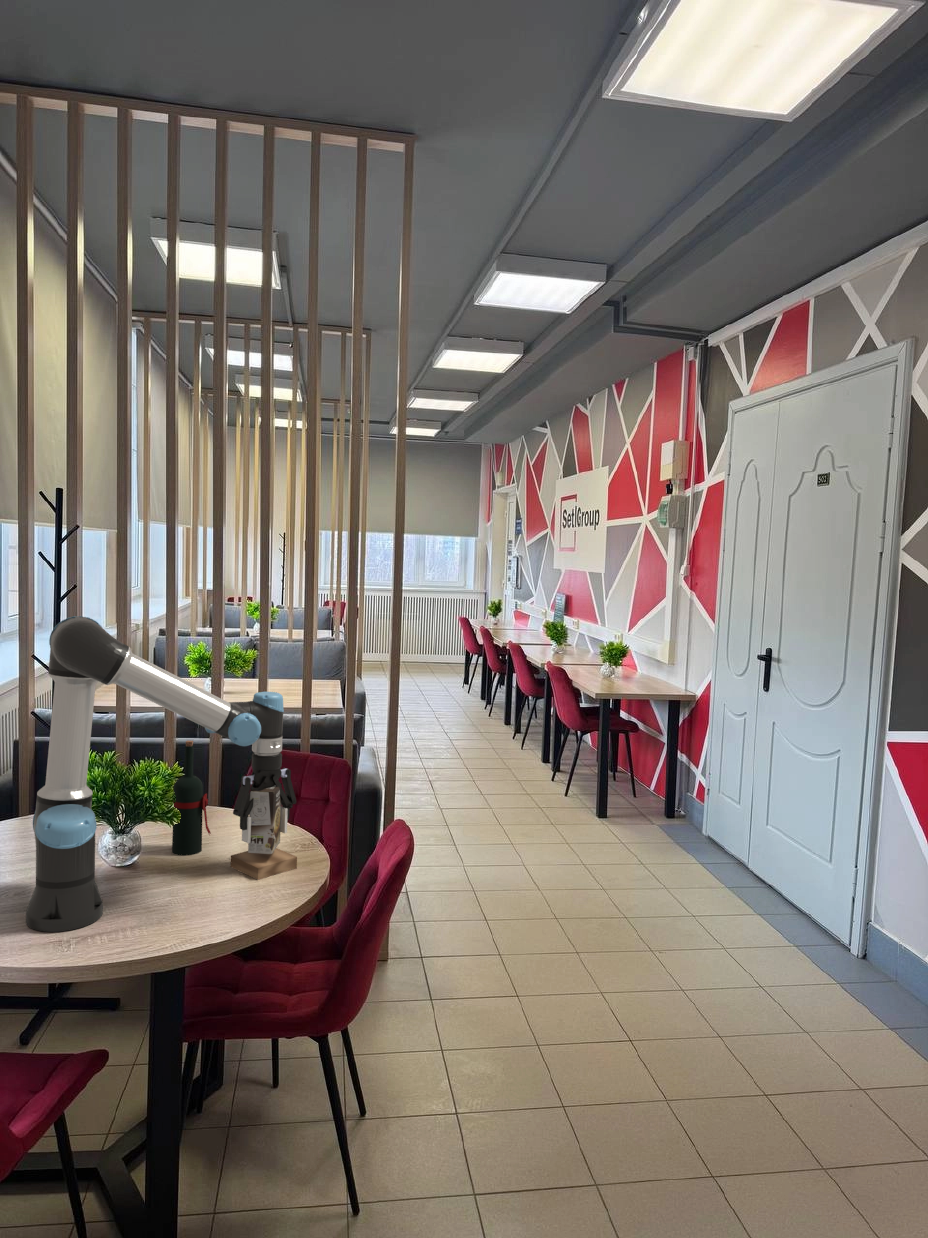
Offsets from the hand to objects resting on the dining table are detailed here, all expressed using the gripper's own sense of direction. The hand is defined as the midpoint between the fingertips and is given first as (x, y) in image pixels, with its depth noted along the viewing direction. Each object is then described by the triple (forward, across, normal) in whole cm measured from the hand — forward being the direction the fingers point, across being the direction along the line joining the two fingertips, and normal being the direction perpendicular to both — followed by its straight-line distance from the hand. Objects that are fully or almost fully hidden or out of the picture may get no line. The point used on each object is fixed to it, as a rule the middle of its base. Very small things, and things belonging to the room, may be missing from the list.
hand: (264, 836), depth 217 cm
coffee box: (+3, 0, 0) cm, 3 cm away
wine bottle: (+8, -7, +23) cm, 25 cm away
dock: (+8, 0, 0) cm, 8 cm away
